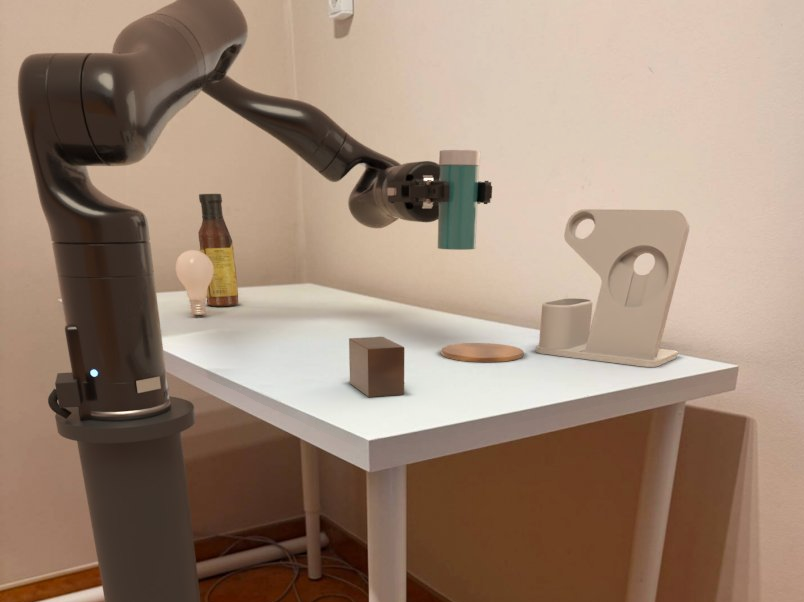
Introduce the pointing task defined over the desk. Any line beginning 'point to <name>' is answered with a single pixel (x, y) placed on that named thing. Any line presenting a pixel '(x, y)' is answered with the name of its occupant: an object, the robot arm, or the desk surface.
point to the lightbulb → (195, 278)
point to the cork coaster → (482, 352)
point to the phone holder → (619, 289)
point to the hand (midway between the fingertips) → (467, 191)
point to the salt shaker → (459, 199)
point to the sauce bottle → (218, 252)
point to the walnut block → (376, 366)
